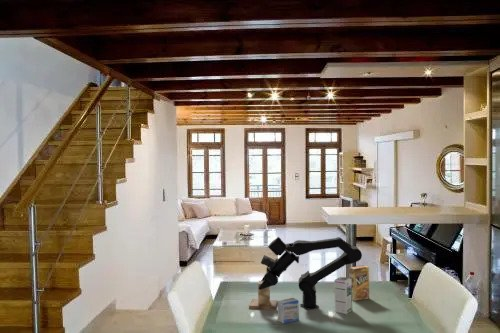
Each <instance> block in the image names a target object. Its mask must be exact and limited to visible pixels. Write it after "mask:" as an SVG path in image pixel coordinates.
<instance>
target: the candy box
mask: <svg viewBox="0 0 500 333" xmlns="http://www.w3.org/2000/svg"><path fill="white" fill-rule="evenodd" d="M348 276H349V277H348V278H351V280H352V301H354V302H355V301H361V300H362V301H363V300H368V299H370V266H367V265H364V264H363V265H355V266H350V267H348Z"/></svg>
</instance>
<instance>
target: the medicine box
mask: <svg viewBox="0 0 500 333" xmlns="http://www.w3.org/2000/svg"><path fill="white" fill-rule="evenodd" d="M277 302H278V303H277V321H278V322H280V323H281V324H284V325H285V323H286V324H289V323H294V322H297V321H299V320H300V315H299V314H300V313H299V312H300V311H299V310H300V307H299V306H300V304H299V303H300V302H299V299H297V298H295V297H291V298H285V299H280V300H277Z"/></svg>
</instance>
